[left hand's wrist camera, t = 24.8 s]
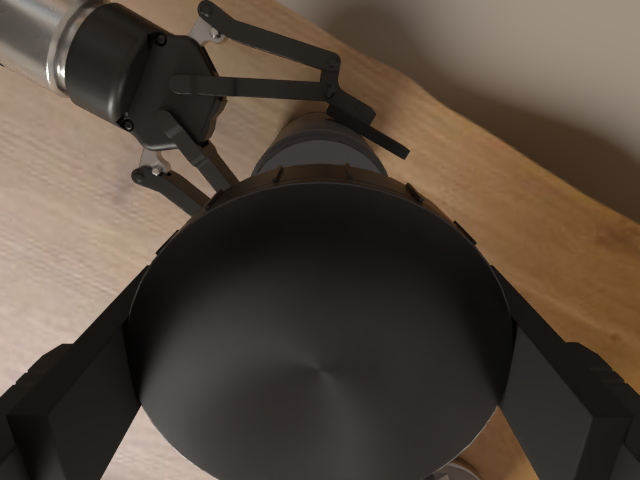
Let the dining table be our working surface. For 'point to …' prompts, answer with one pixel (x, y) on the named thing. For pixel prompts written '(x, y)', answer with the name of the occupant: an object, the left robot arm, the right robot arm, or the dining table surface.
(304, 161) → the jar
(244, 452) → the lid
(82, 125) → the dining table surface
